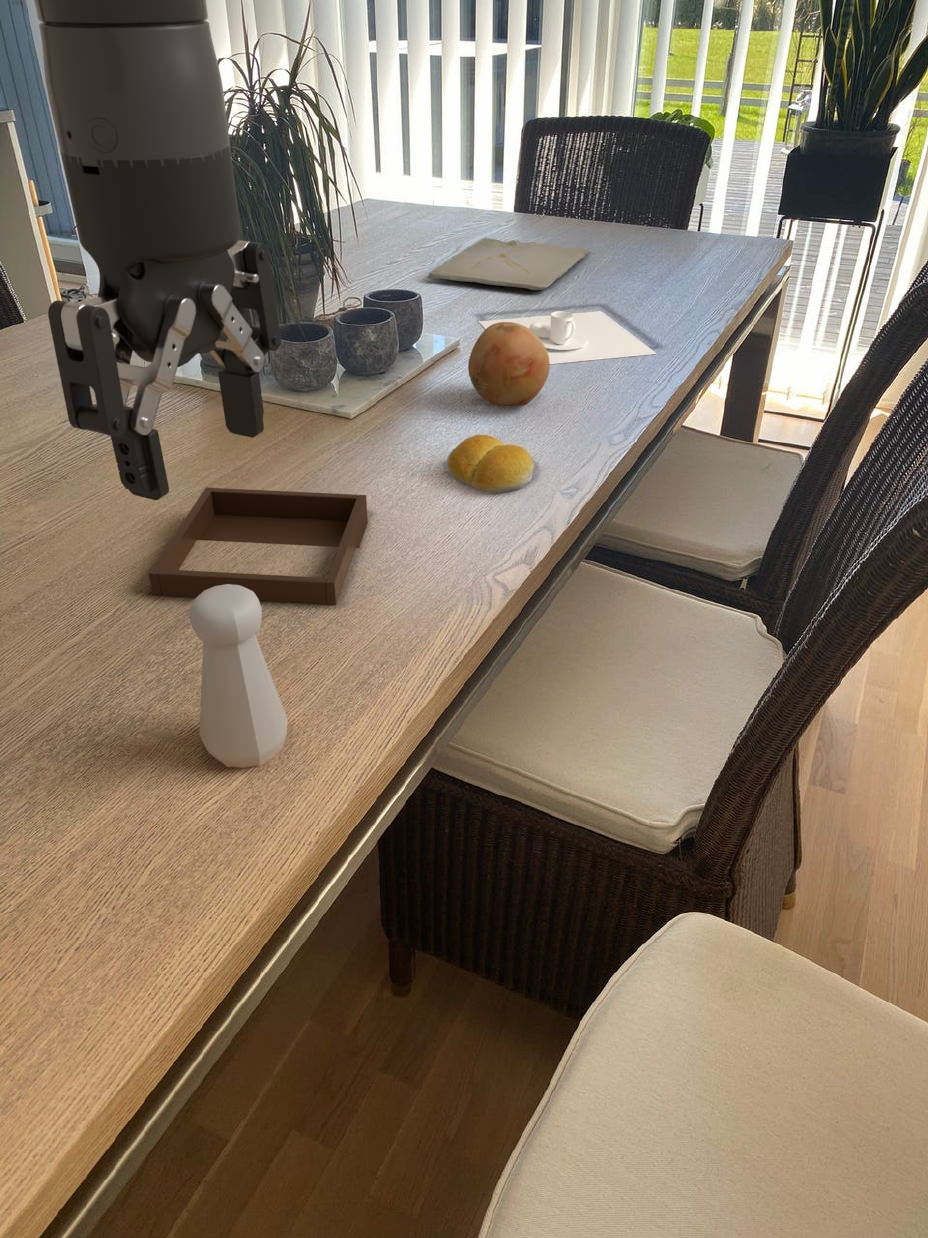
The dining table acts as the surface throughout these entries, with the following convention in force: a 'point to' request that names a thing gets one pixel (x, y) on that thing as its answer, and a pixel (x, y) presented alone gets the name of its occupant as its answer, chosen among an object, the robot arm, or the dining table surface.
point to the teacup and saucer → (580, 336)
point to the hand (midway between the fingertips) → (200, 462)
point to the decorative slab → (510, 264)
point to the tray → (265, 541)
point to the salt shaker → (236, 679)
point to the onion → (508, 364)
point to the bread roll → (490, 464)
